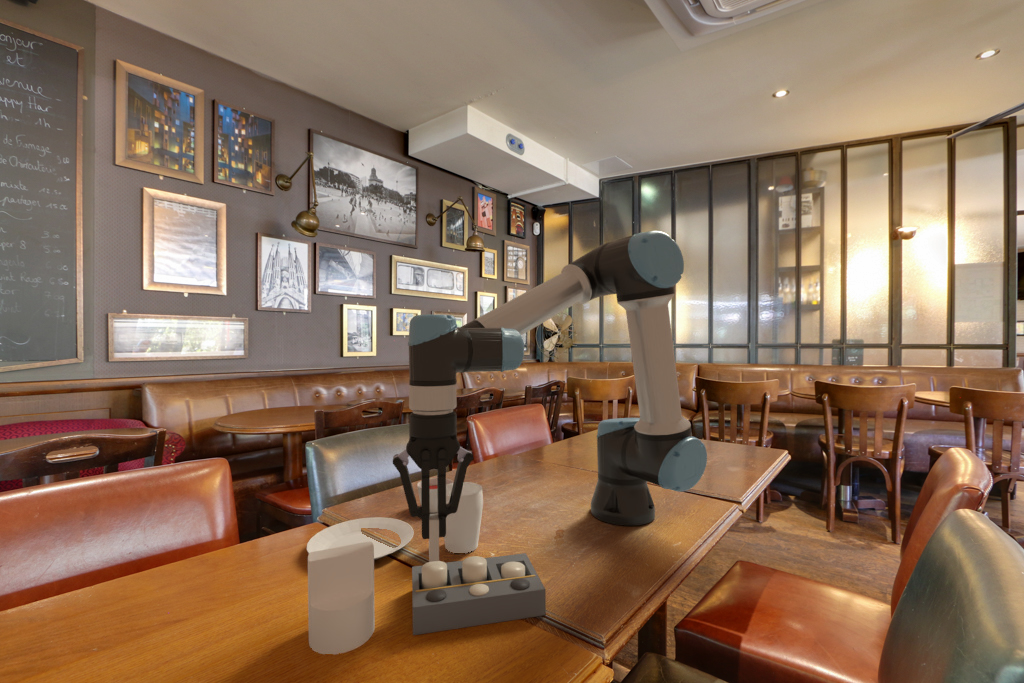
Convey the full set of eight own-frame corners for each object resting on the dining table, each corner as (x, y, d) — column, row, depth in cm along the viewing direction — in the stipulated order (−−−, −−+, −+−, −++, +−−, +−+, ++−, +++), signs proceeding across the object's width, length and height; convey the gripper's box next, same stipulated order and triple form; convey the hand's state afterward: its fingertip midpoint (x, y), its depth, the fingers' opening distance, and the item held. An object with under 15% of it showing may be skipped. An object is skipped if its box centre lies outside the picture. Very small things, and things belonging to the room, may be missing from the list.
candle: (440, 499, 120) (440, 475, 120) (460, 508, 114) (460, 483, 114) (410, 508, 114) (410, 483, 114) (429, 518, 107) (429, 491, 107)
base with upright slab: (308, 662, 59) (307, 572, 59) (309, 623, 68) (308, 544, 68) (378, 643, 63) (377, 558, 63) (371, 608, 71) (370, 533, 71)
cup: (476, 559, 87) (476, 497, 87) (432, 555, 89) (432, 494, 89) (488, 539, 96) (487, 482, 96) (448, 535, 98) (447, 480, 98)
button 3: (446, 582, 75) (445, 559, 75) (448, 595, 71) (448, 571, 71) (421, 585, 74) (421, 562, 74) (422, 599, 70) (422, 574, 70)
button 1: (521, 582, 78) (521, 560, 78) (527, 595, 74) (527, 571, 74) (499, 585, 77) (499, 563, 77) (504, 598, 73) (503, 575, 73)
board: (525, 575, 81) (525, 552, 81) (545, 614, 69) (545, 587, 69) (412, 590, 76) (412, 565, 76) (412, 635, 65) (412, 606, 65)
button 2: (484, 577, 76) (484, 554, 76) (488, 590, 72) (488, 566, 72) (461, 580, 75) (460, 557, 75) (464, 593, 71) (463, 569, 71)
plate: (345, 523, 105) (344, 514, 105) (429, 530, 101) (429, 520, 101) (282, 568, 85) (282, 556, 85) (384, 579, 80) (384, 567, 80)
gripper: (470, 405, 77) (471, 542, 77) (392, 408, 74) (392, 551, 74) (476, 412, 70) (477, 563, 70) (390, 416, 67) (391, 573, 67)
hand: (433, 557), depth 72 cm, fingers closed
